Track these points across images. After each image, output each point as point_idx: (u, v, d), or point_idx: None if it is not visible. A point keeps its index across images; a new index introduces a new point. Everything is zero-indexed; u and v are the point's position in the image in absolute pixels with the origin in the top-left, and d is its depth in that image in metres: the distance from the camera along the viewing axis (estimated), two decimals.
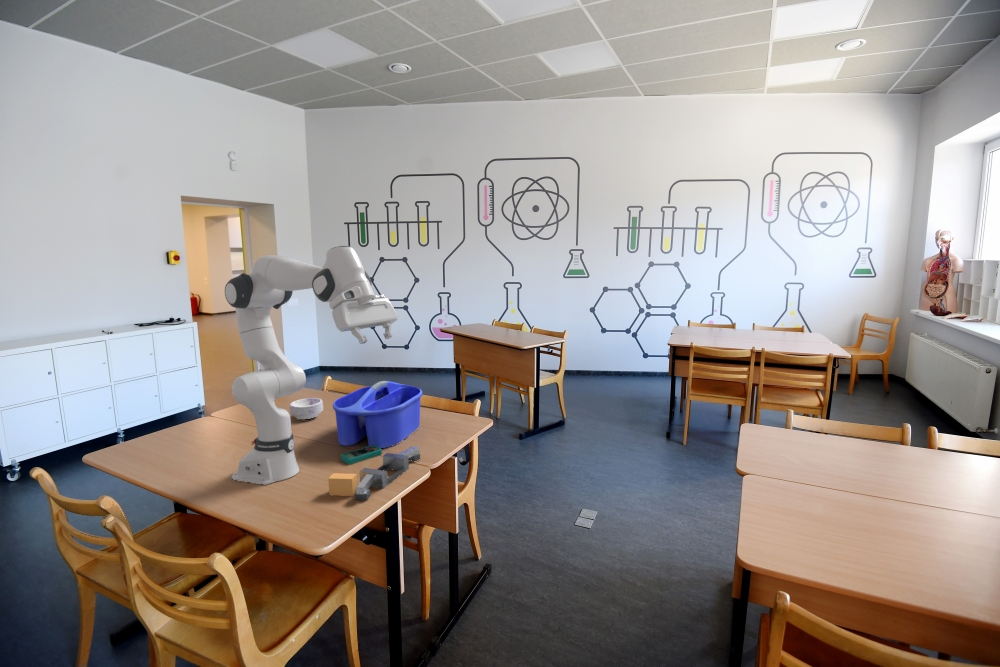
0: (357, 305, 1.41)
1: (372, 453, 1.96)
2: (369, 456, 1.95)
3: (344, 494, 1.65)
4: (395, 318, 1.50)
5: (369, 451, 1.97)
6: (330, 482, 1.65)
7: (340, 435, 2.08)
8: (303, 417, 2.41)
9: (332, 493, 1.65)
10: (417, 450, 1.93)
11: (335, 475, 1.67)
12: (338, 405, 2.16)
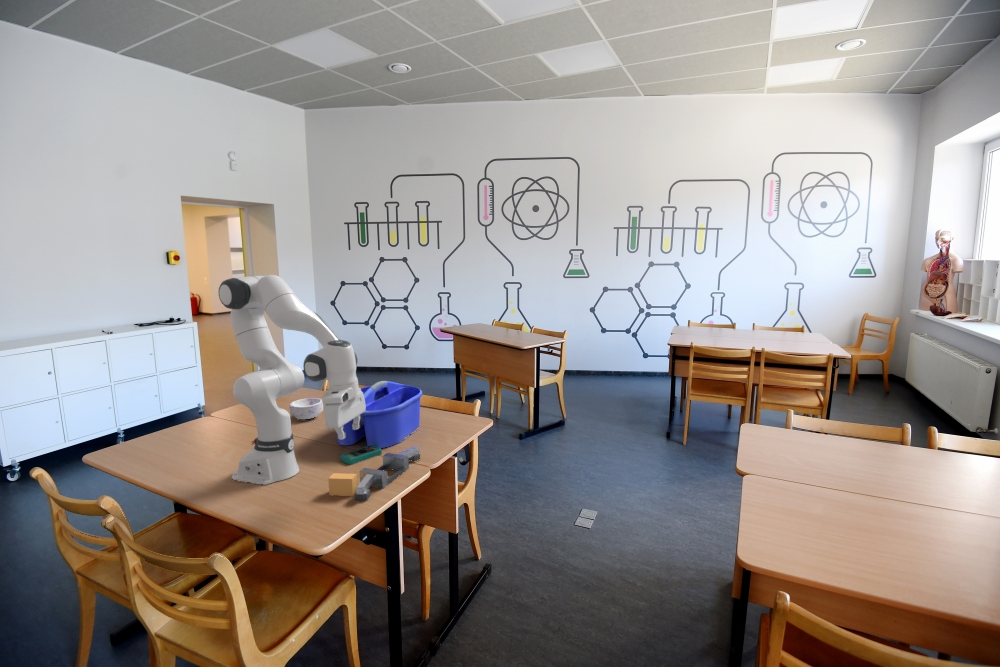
0: (346, 404, 1.56)
1: (372, 452, 1.96)
2: (369, 456, 1.96)
3: (344, 494, 1.65)
4: (364, 410, 1.68)
5: (369, 451, 1.97)
6: (330, 482, 1.65)
7: None
8: (303, 417, 2.41)
9: (332, 493, 1.65)
10: (417, 450, 1.93)
11: (335, 475, 1.67)
12: None
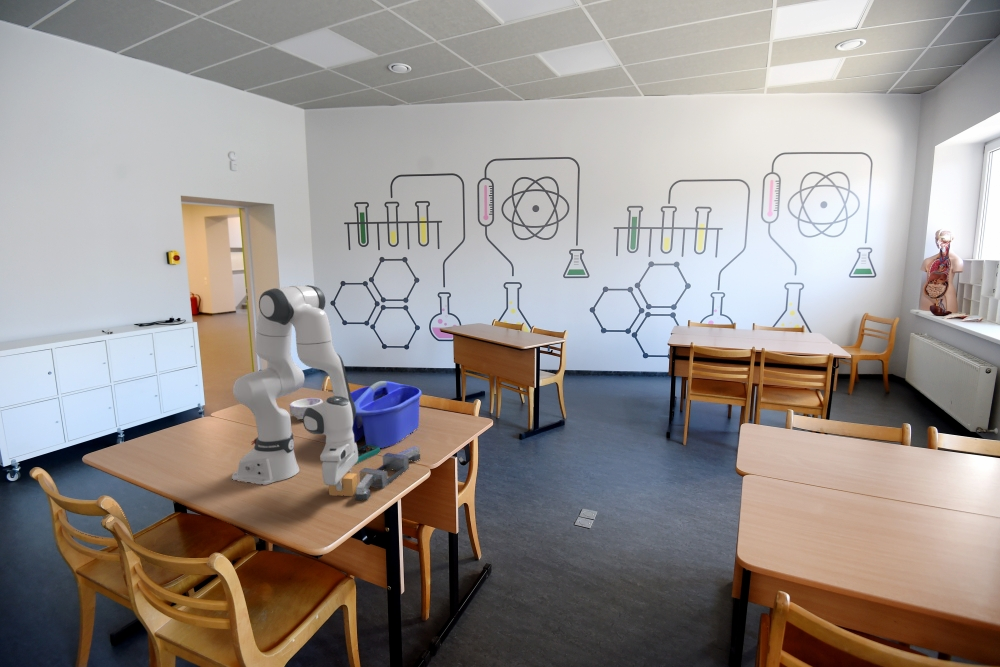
0: (342, 460, 1.61)
1: (372, 451, 1.97)
2: (370, 455, 1.96)
3: (344, 493, 1.65)
4: None
5: (368, 450, 1.98)
6: None
7: None
8: None
9: (332, 493, 1.65)
10: (417, 450, 1.93)
11: None
12: None
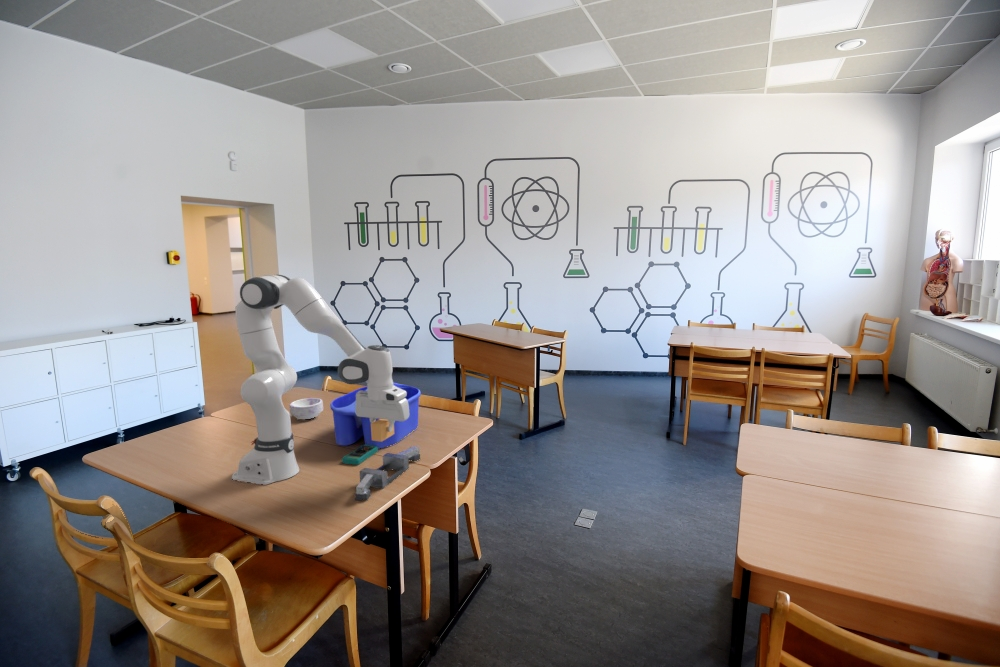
0: None
1: (372, 450, 1.98)
2: (370, 454, 1.97)
3: (390, 434, 1.77)
4: None
5: (367, 450, 1.98)
6: (381, 428, 1.72)
7: (337, 435, 2.08)
8: (303, 417, 2.41)
9: (383, 438, 1.73)
10: (417, 450, 1.93)
11: (377, 422, 1.73)
12: (336, 405, 2.16)
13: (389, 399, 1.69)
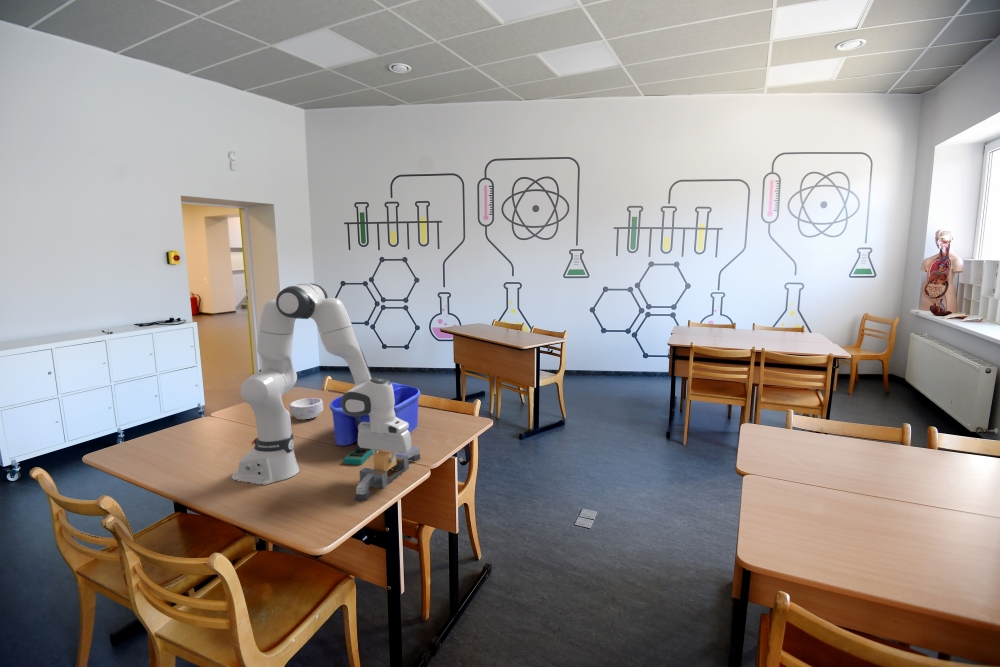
0: None
1: (371, 450, 1.99)
2: (370, 454, 1.97)
3: (392, 465, 1.79)
4: None
5: (367, 450, 1.98)
6: (384, 459, 1.74)
7: (337, 435, 2.08)
8: (303, 417, 2.41)
9: (385, 469, 1.75)
10: (417, 450, 1.93)
11: (380, 454, 1.75)
12: (335, 405, 2.16)
13: (391, 432, 1.71)
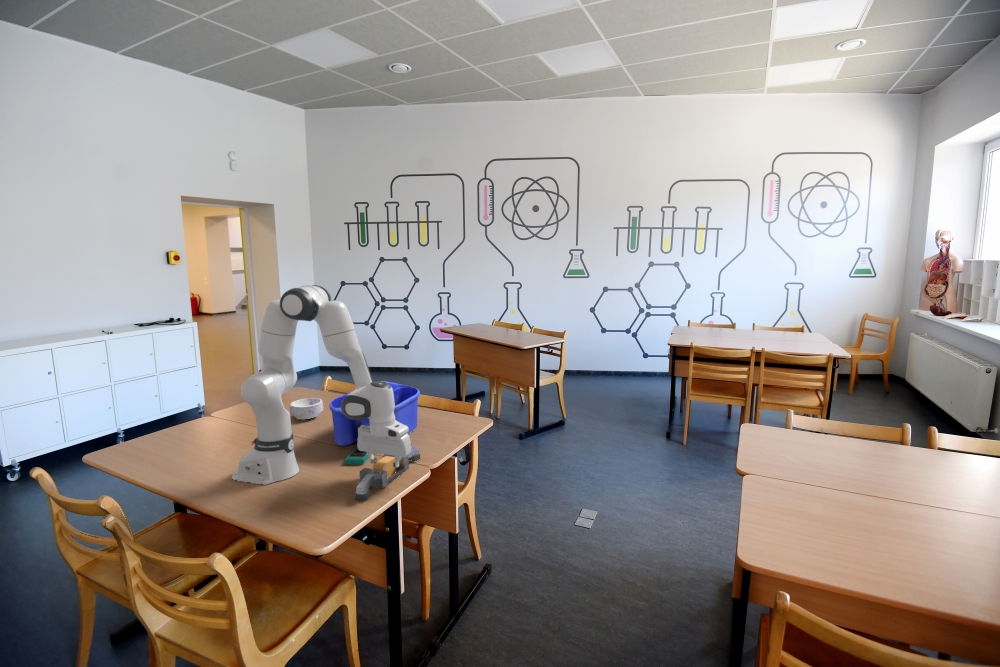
0: None
1: None
2: None
3: (391, 474, 1.79)
4: None
5: None
6: (384, 469, 1.75)
7: (336, 435, 2.08)
8: (303, 417, 2.41)
9: None
10: (417, 450, 1.93)
11: (379, 463, 1.76)
12: (335, 405, 2.16)
13: (391, 435, 1.71)
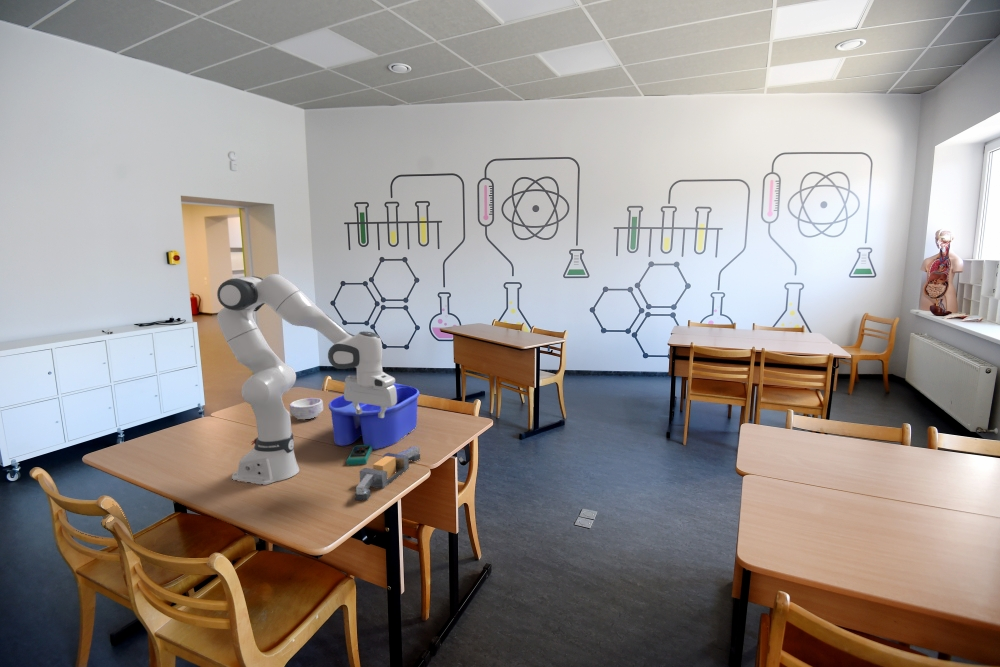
0: None
1: (369, 449, 1.99)
2: (369, 453, 1.98)
3: (391, 474, 1.79)
4: None
5: (365, 449, 1.99)
6: (384, 469, 1.75)
7: (336, 435, 2.08)
8: (303, 417, 2.41)
9: None
10: (417, 450, 1.93)
11: (379, 463, 1.76)
12: (334, 405, 2.16)
13: (377, 385, 1.72)
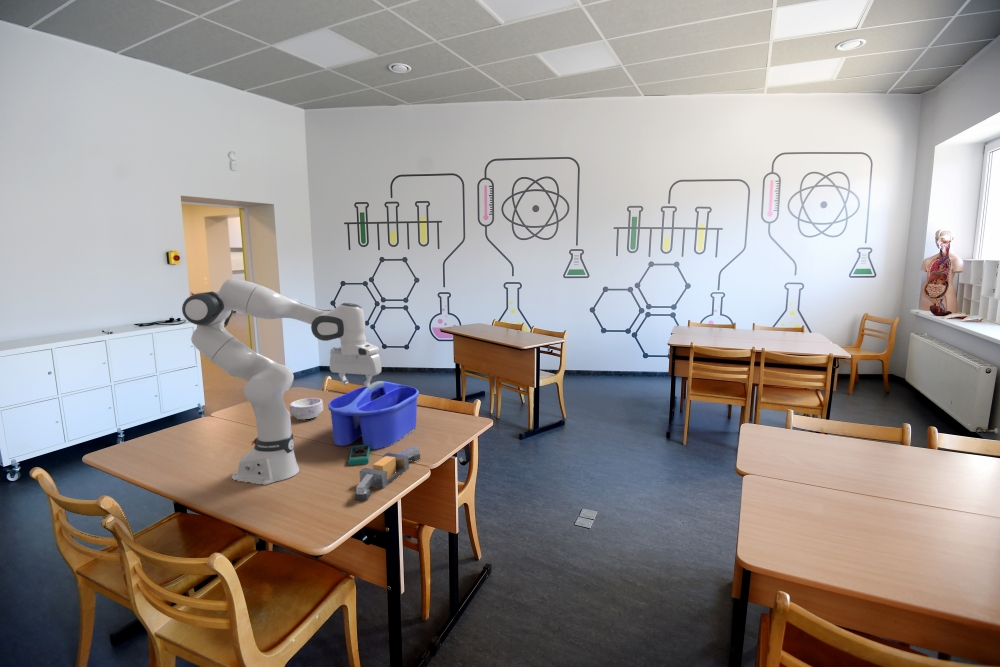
0: None
1: (368, 449, 2.00)
2: None
3: (391, 474, 1.79)
4: None
5: (364, 449, 1.99)
6: (384, 469, 1.75)
7: (335, 435, 2.08)
8: (303, 417, 2.41)
9: None
10: (417, 450, 1.93)
11: (379, 463, 1.76)
12: (334, 405, 2.16)
13: (361, 354, 1.76)
